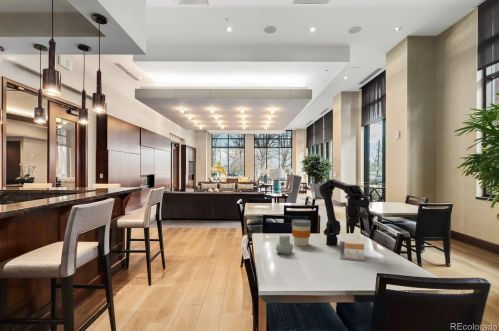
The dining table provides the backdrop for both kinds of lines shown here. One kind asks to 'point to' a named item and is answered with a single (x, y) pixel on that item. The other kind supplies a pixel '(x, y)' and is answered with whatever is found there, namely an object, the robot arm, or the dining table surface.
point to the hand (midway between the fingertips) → (352, 232)
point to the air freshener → (284, 245)
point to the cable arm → (351, 246)
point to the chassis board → (352, 254)
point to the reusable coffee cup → (301, 231)
